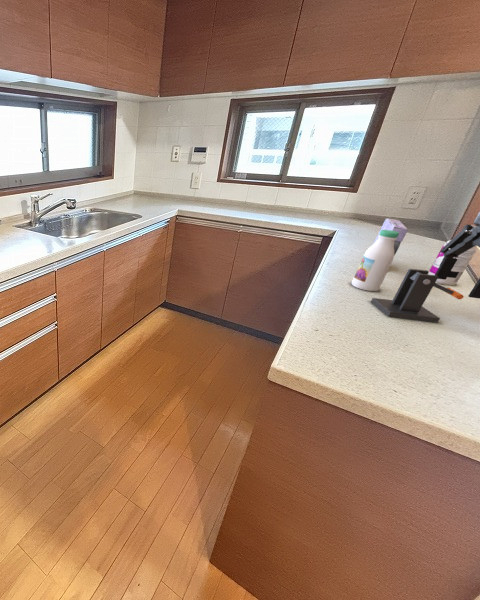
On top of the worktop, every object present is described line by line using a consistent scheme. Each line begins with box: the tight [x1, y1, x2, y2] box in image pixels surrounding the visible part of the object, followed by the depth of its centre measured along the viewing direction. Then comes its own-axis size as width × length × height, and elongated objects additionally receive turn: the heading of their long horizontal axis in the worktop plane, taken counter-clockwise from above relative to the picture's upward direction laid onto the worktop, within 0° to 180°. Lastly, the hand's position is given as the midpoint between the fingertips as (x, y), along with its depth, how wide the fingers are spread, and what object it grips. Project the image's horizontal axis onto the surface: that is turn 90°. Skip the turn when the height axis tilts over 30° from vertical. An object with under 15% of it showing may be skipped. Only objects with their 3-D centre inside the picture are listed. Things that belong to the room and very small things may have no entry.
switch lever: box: [410, 272, 465, 300], centre depth 93 cm, size 12×5×2 cm, turn 75°
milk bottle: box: [351, 230, 399, 292], centre depth 110 cm, size 8×8×20 cm
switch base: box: [370, 268, 441, 324], centre depth 95 cm, size 12×10×13 cm
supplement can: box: [428, 239, 478, 286], centre depth 118 cm, size 8×8×15 cm
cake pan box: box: [373, 217, 409, 257], centre depth 133 cm, size 19×5×18 cm, turn 147°
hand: (456, 287), depth 92 cm, fingers open, 13 cm apart
